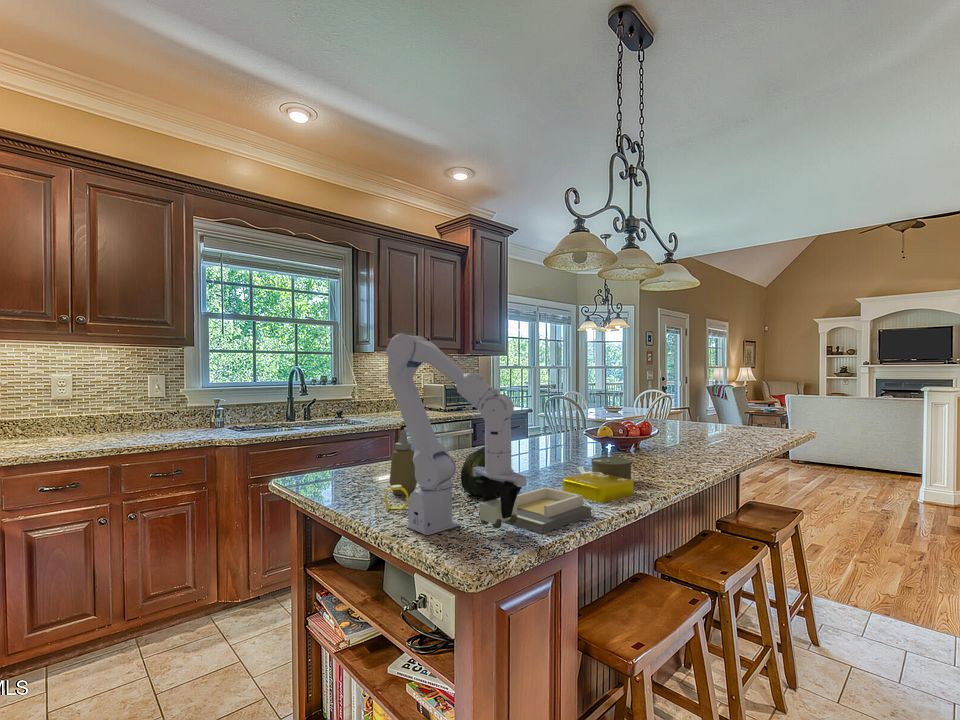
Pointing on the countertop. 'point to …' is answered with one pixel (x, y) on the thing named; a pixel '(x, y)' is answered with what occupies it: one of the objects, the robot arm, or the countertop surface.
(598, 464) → the can
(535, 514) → the dock
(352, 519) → the countertop surface
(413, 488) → the squeeze bottle
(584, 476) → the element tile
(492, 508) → the upright pale green block
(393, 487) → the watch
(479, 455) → the squash
